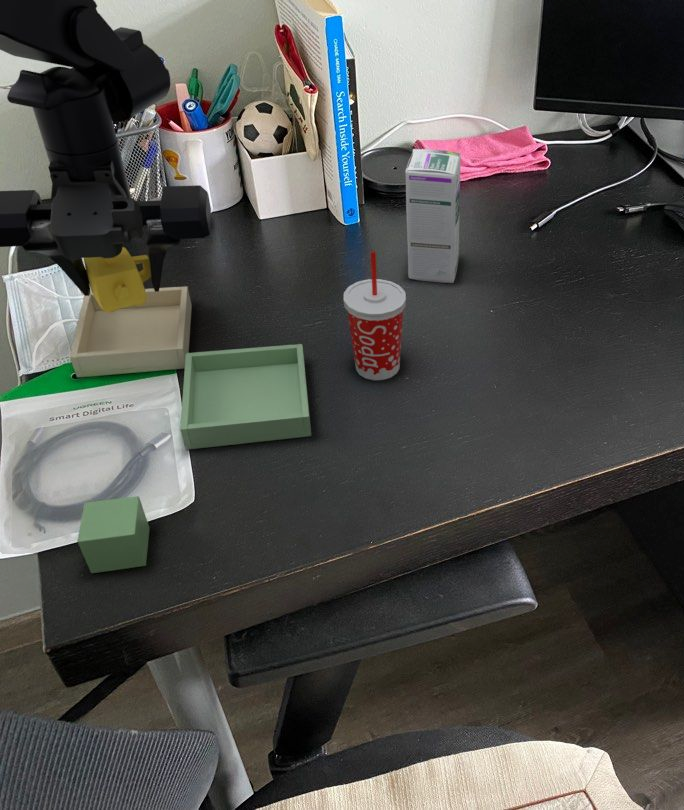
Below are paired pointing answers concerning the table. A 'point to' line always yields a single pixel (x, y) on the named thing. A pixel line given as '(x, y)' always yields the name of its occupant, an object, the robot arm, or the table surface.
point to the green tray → (244, 396)
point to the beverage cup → (375, 324)
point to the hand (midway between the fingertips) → (122, 291)
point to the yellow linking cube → (118, 280)
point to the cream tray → (133, 335)
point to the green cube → (114, 534)
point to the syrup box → (433, 214)
